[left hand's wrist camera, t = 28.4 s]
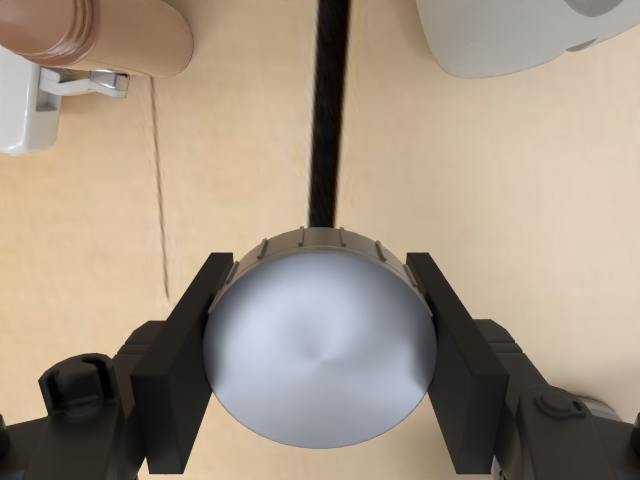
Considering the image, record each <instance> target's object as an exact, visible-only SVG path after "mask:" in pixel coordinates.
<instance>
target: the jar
mask: <svg viewBox="0 0 640 480" xmlns="http://www.w3.org/2000/svg"><path fill="white" fill-rule="evenodd" d="M0 45H1V46H2V47H4V48H6V49H8V50H9V51H11V52H13V53H15V54H17V55H20V56H22V57H23V58H25V59H27V60H28V61H30V62H32V63H35V64H38V65H40V66H45V67H51V68H62V69H72V70H83V71H94V72H105V73H116V74H127V75H138V76H149V77H160V78H167V77H172V76H174V75H177V74H178V73H180V72H181V71H182V70H183V69H184V68H185V67H186V66H187V65H188V63H189V61H190V59H191V56H192V52H193V37H192V33H191V30H190V27H189V25H188V23H187V21H186V20H185V18H184V17H183V16H182V15H181V13H179V12H178V11H177V10H176V9H175V8H173V7H172V6H170V5H168V4H167V3H165V2H163V1H162V0H0Z"/></svg>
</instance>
